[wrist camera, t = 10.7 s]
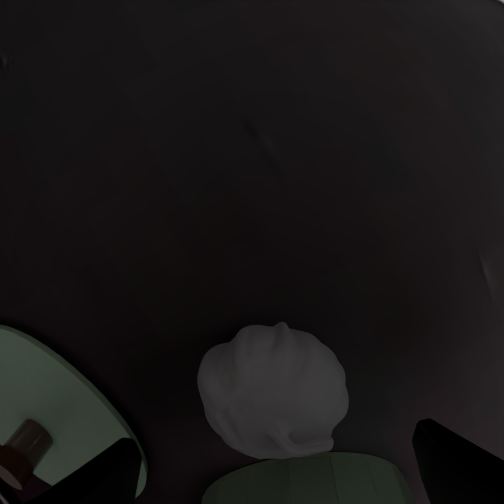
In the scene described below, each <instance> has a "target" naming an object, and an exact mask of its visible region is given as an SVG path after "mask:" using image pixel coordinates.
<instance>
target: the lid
mask: <svg viewBox="0 0 504 504" xmlns="http://www.w3.org/2000/svg"><path fill="white" fill-rule="evenodd" d="M123 437H125V438H132V439H134V440H135V441H136V443H137V446H138V448H139V450H140V452H141V455H142V463H141V468H140V474H139V480H138V485H137V491H136V496H135V498H136V497H137V496H139V495H140V494H141V492H142V491H143V490H144V488H145V485H146V482H147V479H148V466H147V460H146V457H145V455H144V452H143V449H142V447H141V445H140V443H139V442H138V440H137V438H136V436H135V435H134V433H133V431H132V430H131V428H130V427H129V425H128V424H127V423H126V421H125V420H124V419H123V417H122V416H121V415H120V414H119V412H118V411H117V410H116V409H115V408H114V406H113V405H112V404H111V403H110V402H109V401H108V400H107V398H106V397H105V396H104V395H103V394H102V393H101V392H100V391H99V390H98V389H97V388H96V387H95V386H94V385H93V384H92V383H91V382H90V381H89V380H88V379H87V378H86V377H84V376H83V375H82V374H81V373H80V372H79V371H78V370H77V369H76V368H74V367H73V366H72V365H71V364H70V363H68V362H67V361H66V360H65V359H63V358H62V357H61V356H60V355H58V354H57V353H56V352H54V351H53V350H51V349H50V348H49V347H47V346H46V345H44V344H43V343H41V342H39V341H38V340H36V339H35V338H33V337H31V336H29V335H27V334H25V333H23V332H21V331H19V330H17V329H14V328H11V327H9V326H5V325H0V444H1V445H2V447H1V448H0V477H1V478H2V479H3V480H4V481H5V482H7V483H8V484H9V485H11V486H12V487H14V488H16V489H19V490H22V489H23V487H24V486H25V484H26V483H27V481H28V480H29V478H30V477H31V475H32V474H35V475H36V476H37V477H39V478H40V479H42V480H44V481H45V482H47V483H49V484H50V485H52V486H53V485H54V484H56V483H57V482H59V481H60V480H62V479H63V478H65V477H66V476H68V475H69V474H71V473H72V472H74V471H75V470H77V469H78V468H80V467H81V466H83V465H84V464H85V463H87V462H88V461H90V460H91V459H93V458H94V457H95V456H97V455H98V454H100V453H101V452H102V451H104V450H105V449H107V448H108V447H109V446H111V445H112V444H114V443H115V442H116V441H118V440H119V439H120V438H123Z"/></svg>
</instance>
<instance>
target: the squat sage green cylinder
mask: <svg viewBox="0 0 504 504" xmlns="http://www.w3.org/2000/svg"><path fill="white" fill-rule="evenodd" d="M200 504H415V501H414V499H413V496H412V494H411V491H410V489H409V486H408V484H407V481H406V479H405V476H404V475H403V474H402V473H401V471H400V469H399V468H398V467H397V466H396V465H394V464H393V463H391V462H389V461H388V460H385V459H383V458H380V457H377V456H373V455H369V454H361V453H352V452H321V453H317V454H313V455H309V456H305V457H291V458H288V459H271V460H267V461H263V462H258V463H255V464H252V465H249V466H245V467H243V468H240V469H238V470H235V471H233V472H231V473H229V474H227V475H225V476H223V477H221V478H220V479H218V480H217V481H215V482H214V483H213V484H212V485H211V486H209V487H208V488H207V490H206V491H205V493H204V494H203V496H202V499H201V503H200Z"/></svg>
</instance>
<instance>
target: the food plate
mask: <svg viewBox="0 0 504 504" xmlns="http://www.w3.org/2000/svg"><path fill="white" fill-rule="evenodd" d="M0 504H10V503H9V502H8V501H7V500H6V499H5V497H3V495H2V493H1V491H0Z"/></svg>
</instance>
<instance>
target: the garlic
mask: <svg viewBox="0 0 504 504" xmlns="http://www.w3.org/2000/svg"><path fill="white" fill-rule="evenodd" d="M197 382H198V388H199V392H200V395H201V398H202V402H203V405H204V410H205V415H206V418H207V420H208V422H209V424H210V425H211V427H212V428H213V429H214V431H215V432H216V433H217V434H219V435H220V436H221V437H222V439H223V440H224V442H225V443H226V444H227V445H229V446H230V447H232V448H234V449H235V450H237V451H239V452H241V453H243V454H245V455H248V456H252V457H255V458H258V459H264V458H267V459H271V458H273V459H288V458H291V457H305V456H309V455H313V454H317V453H321V452H328V451H330V450H331V449H332V447H333V444H334V441H333V438H331V435H332V430H333V428H334V427H335V426H336V425H337V424H338V423H339V422H340V421H341V420H342V419H343V418H344V417H345V415H346V413H347V410H348V404H349V398H348V392H347V388H346V386H345V372H344V369H343V367H342V366H341V364H340V363H339V361H338V359H337V358H336V355H335V354H334V352H333V351H331V350H330V349H329V348H328V347H327V346H326V345H324V344H321V342H320V341H319V340H318V339H317V338H316V337H315V336H313V335H312V334H310V333H308V332H303V331H299V330H295V329H289V328H288V326H287V324H286V323H285V322H279V323H278V324H276V325H275V326H273V327H269V326H263V325H250V326H247V327H244V328H242V329H241V330H240V331H239V332H238V333H237V335H236V336H235V337H234V339H233V340H231V341H230V342H229V343H223V344H219V345H216V346H214V347H213V348H211V349H210V350H209V351H208V352H207V353H206V354H205V355H204V357H203V359H202V362H201V364H200V367H199V370H198V377H197Z"/></svg>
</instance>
